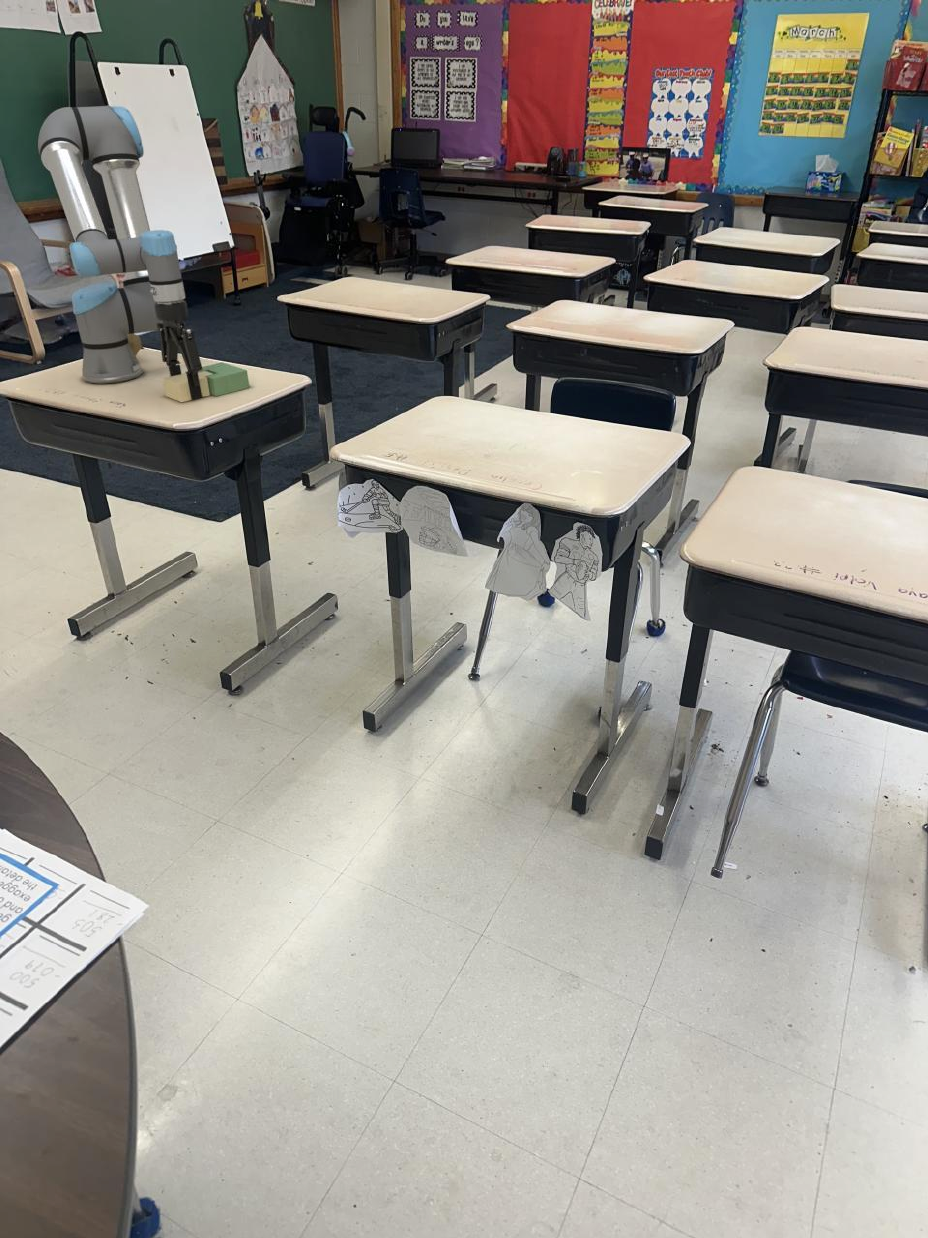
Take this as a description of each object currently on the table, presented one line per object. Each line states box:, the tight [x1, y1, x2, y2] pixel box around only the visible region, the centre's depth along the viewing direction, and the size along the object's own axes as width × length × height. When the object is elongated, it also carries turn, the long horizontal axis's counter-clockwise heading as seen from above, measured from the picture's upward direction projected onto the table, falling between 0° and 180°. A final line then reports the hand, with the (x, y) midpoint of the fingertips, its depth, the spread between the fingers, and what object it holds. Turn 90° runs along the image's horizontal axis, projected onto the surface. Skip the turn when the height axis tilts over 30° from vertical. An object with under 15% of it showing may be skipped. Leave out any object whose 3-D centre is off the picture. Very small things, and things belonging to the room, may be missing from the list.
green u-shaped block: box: [198, 361, 250, 397], centre depth 223 cm, size 12×10×4 cm
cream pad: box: [162, 371, 213, 403], centre depth 218 cm, size 8×11×4 cm
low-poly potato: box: [127, 333, 146, 357], centre depth 247 cm, size 15×11×12 cm
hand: (187, 394), depth 218 cm, fingers closed on cream pad, 8 cm apart
